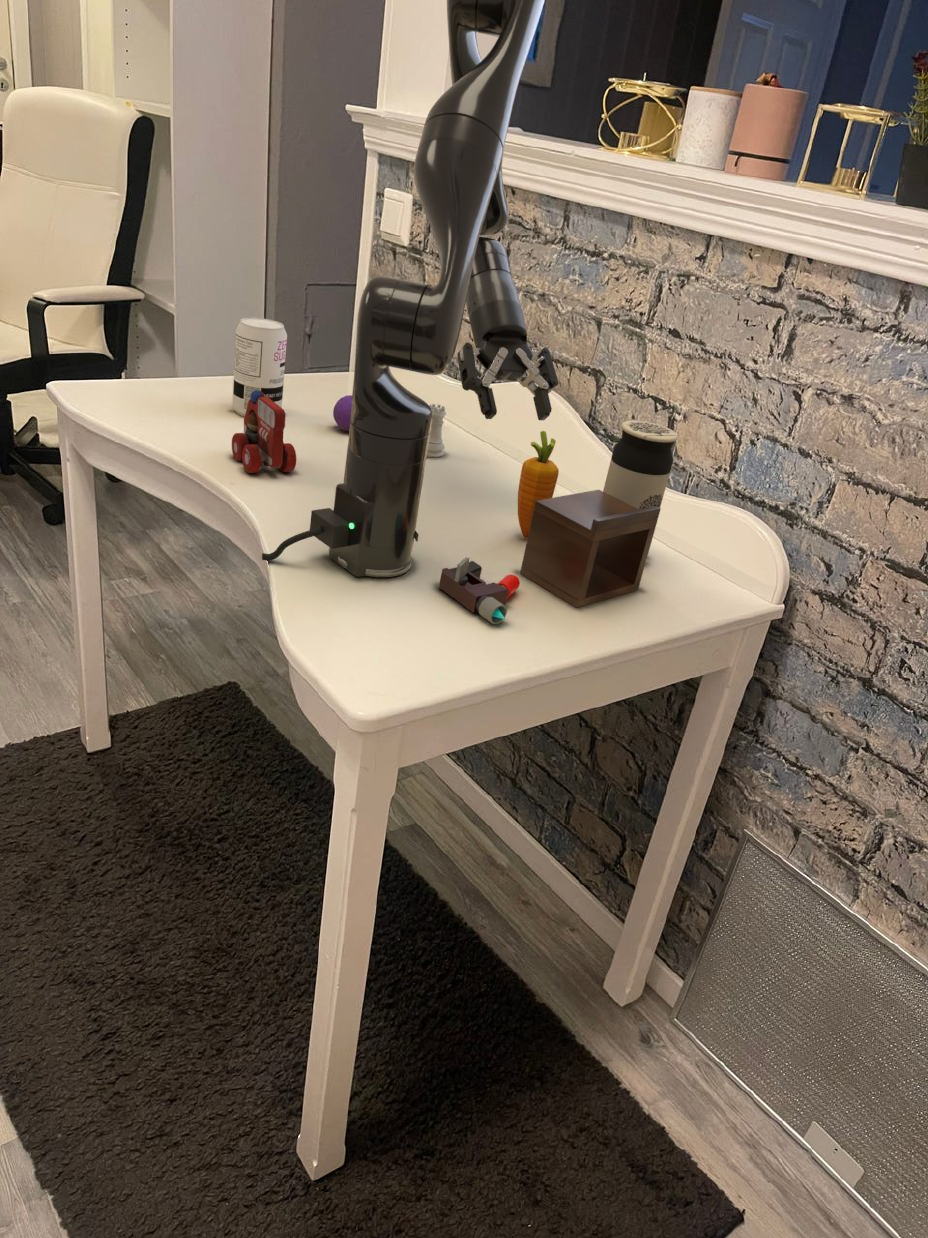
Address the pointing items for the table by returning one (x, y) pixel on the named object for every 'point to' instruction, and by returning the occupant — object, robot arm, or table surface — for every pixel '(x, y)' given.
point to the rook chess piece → (436, 432)
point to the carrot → (536, 481)
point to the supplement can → (258, 361)
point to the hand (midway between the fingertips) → (518, 417)
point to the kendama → (343, 412)
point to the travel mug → (641, 464)
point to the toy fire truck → (263, 437)
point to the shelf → (588, 546)
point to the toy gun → (478, 590)
